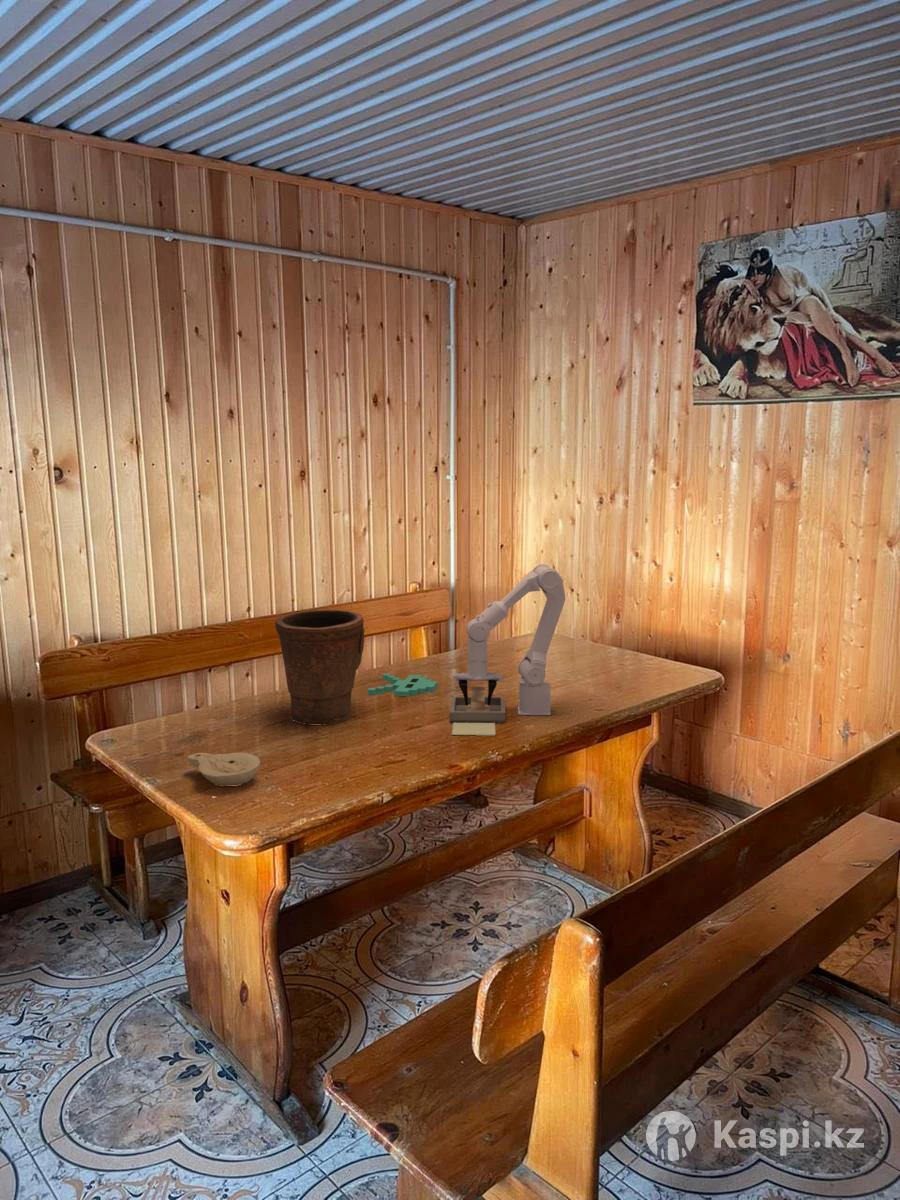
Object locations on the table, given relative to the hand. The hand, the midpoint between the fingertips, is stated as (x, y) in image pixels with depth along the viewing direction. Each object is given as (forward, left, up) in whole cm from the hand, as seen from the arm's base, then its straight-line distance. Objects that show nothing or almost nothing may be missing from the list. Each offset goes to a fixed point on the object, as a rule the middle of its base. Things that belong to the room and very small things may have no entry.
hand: (477, 704), depth 263 cm
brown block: (0, 0, -1) cm, 1 cm away
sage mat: (+1, +14, -3) cm, 14 cm away
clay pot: (+45, 0, -3) cm, 45 cm away
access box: (0, 0, -3) cm, 3 cm away
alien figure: (+24, -28, -4) cm, 37 cm away
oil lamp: (+62, +52, -3) cm, 81 cm away
